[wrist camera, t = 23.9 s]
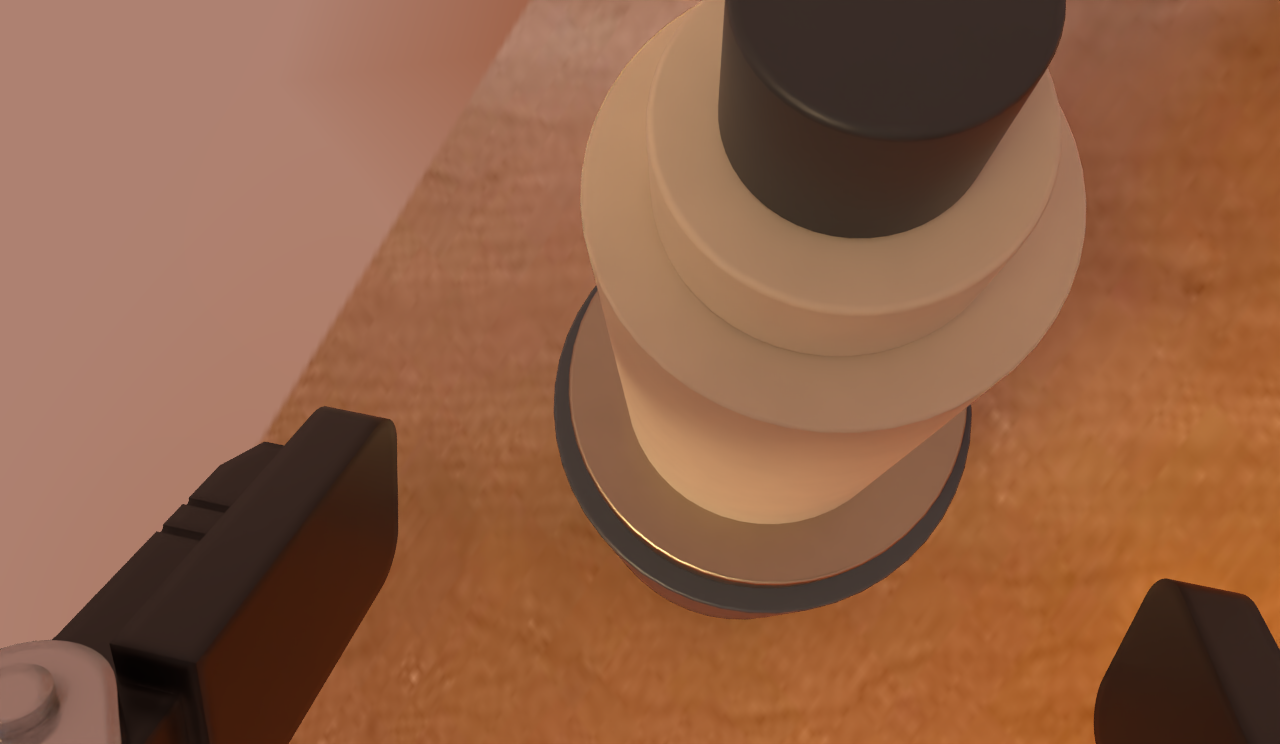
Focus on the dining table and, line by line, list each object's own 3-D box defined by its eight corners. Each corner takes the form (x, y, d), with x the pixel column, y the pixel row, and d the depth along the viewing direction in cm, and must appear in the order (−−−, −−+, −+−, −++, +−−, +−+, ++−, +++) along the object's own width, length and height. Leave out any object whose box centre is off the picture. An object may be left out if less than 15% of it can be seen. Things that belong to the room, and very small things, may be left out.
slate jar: (565, 584, 30) (495, 556, 19) (628, 312, 32) (598, 144, 21) (856, 648, 29) (962, 659, 18) (900, 364, 31) (1019, 218, 20)
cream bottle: (598, 492, 19) (451, 254, 7) (657, 232, 20) (617, -343, 8) (884, 551, 19) (1256, 405, 6) (924, 281, 20) (1294, -260, 8)
